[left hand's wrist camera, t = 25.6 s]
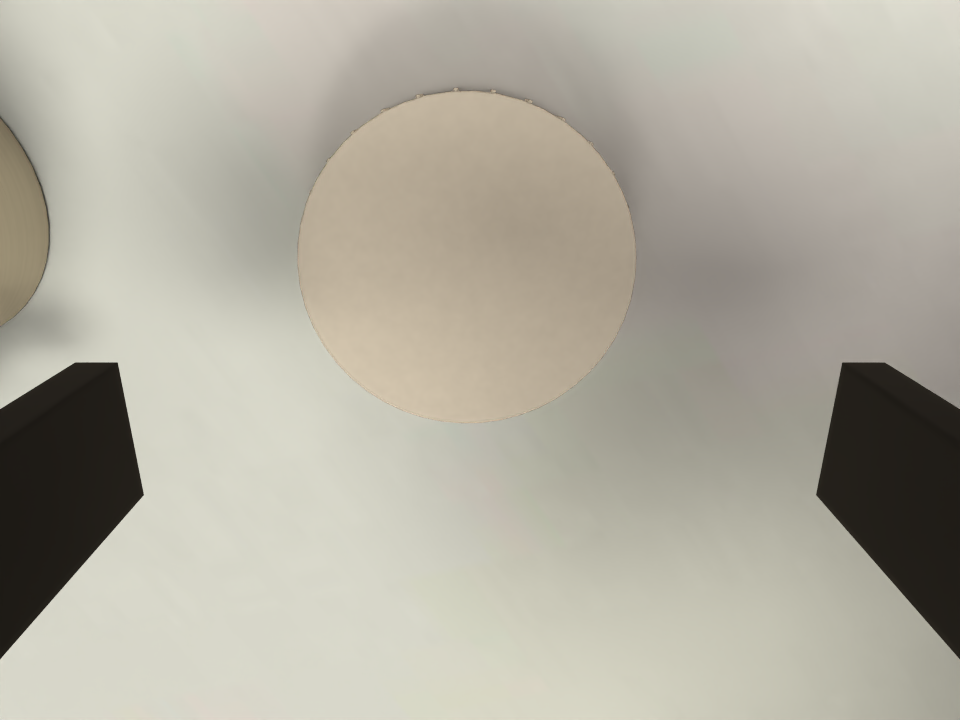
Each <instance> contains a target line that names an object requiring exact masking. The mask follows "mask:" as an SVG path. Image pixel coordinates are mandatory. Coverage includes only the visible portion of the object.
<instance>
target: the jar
mask: <svg viewBox="0 0 960 720" xmlns="http://www.w3.org/2000/svg"><path fill="white" fill-rule="evenodd" d="M48 246H49V225H48V218H47V211H46V205H45V202H44V198H43V194H42V191H41V187H40V185H39V182H38V180H37V177H36V175H35V172H34V170H33V167H32V165H31V163H30V162H29V160H28V158H27V156H26V154H25V152H24V150H23V149H22V147H21V146H20V144H19V143H18V141H17V140H16V138H15V137H14V135H13V134H12V132H11V131H10V129H9V128H8V127H7V126H6V125H5V123H4V122H3V121H2V120H1V119H0V326H2V325H3V324H4V323H6V322H7V321H9V320H10V319H11V318H13V317H14V316H15V315H16V314H17V313H18V312H19V311H20V310H21V309H22V308H23V307H24V306H25V305H26V304H27V302H28V301H29V299H30V298H31V297H32V295H33V294H34V292H35V290H36V288H37V286H38V284H39V282H40V280H41V278H42V274H43V271H44V268H45V264H46V260H47V253H48Z"/></svg>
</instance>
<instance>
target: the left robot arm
mask: <svg viewBox="0 0 960 720" xmlns="http://www.w3.org/2000/svg"><path fill="white" fill-rule="evenodd" d="M143 495H144V494H143V488H142V483H141V478H140V473H139V468H138V463H137V458H136V453H135V448H134V443H133V438H132V433H131V428H130V423H129V418H128V413H127V408H126V403H125V398H124V393H123V388H122V382H121V377H120V372H119V367H118V363H74V364H72V365H71V366H69V367H67V368H66V369H64V370H63V371H61V372H59V373H58V374H56V375H55V376H53V377H51V378H50V379H48V380H47V381H45V382H43V383H42V384H40V385H38V386H37V387H35V388H34V389H32V390H30V391H29V392H27V393H26V394H24V395H22V396H21V397H19V398H18V399H16V400H14V401H13V402H11V403H10V404H8V405H6V406H5V407H3V408H2V409H0V659H1V658H2V656H3V655H4V654H5V653H6V652H7V651H8V650H9V648H10V647H11V646H12V645H13V644H14V643H15V642H16V640H17V639H18V638H19V637H20V636H21V635H22V634H23V632H24V631H25V630H26V629H27V628H28V627H29V626H30V624H31V623H32V622H33V621H34V620H35V619H36V618H37V616H38V615H39V614H40V613H41V612H42V611H43V610H44V608H45V607H46V606H47V605H48V604H49V603H50V602H51V600H52V599H53V598H54V597H55V596H56V595H57V594H58V592H59V591H60V590H61V589H62V588H63V587H64V586H65V584H66V583H67V582H68V581H69V580H70V579H71V578H72V576H73V575H74V574H75V573H76V572H77V571H78V570H79V568H80V567H81V566H82V565H83V564H84V563H85V562H86V560H87V559H88V558H89V557H90V556H91V555H92V554H93V552H94V551H95V550H96V549H97V548H98V547H99V546H100V544H101V543H102V542H103V541H104V540H105V539H106V538H107V536H108V535H109V534H110V533H111V532H112V531H113V530H114V528H115V527H116V526H117V525H118V524H119V523H120V522H121V520H122V519H123V518H124V517H125V516H126V515H127V514H128V512H129V511H130V510H131V509H132V508H133V507H134V506H135V504H136V503H137V502H138V501H139V500H140V499H141V498H142V496H143ZM816 495H817V496H818V498H819V499H820V500H821V501H822V502H823V503H824V504H825V506H826V507H827V508H828V509H829V510H830V511H831V512H832V514H833V515H834V516H835V517H836V518H837V519H838V520H839V522H840V523H841V524H842V525H843V526H844V527H845V528H846V530H847V531H848V532H849V533H850V534H851V535H852V536H853V538H854V539H855V540H856V541H857V542H858V543H859V544H860V546H861V547H862V548H863V549H864V550H865V551H866V552H867V554H868V555H869V556H870V557H871V558H872V559H873V560H874V562H875V563H876V564H877V565H878V566H879V567H880V568H881V570H882V571H883V572H884V573H885V574H886V575H887V576H888V578H889V579H890V580H891V581H892V582H893V583H894V584H895V586H896V587H897V588H898V589H899V590H900V591H901V592H902V594H903V595H904V596H905V597H906V598H907V599H908V600H909V602H910V603H911V604H912V605H913V606H914V607H915V608H916V610H917V611H918V612H919V613H920V614H921V615H922V616H923V618H924V619H925V620H926V621H927V622H928V623H929V624H930V626H931V627H932V628H933V629H934V630H935V631H936V632H937V634H938V635H939V636H940V637H941V638H942V639H943V640H944V642H945V643H946V644H947V645H948V646H949V647H950V648H951V650H952V651H953V652H954V653H955V654H956V655H957V656H958V658H959V659H960V409H958V408H957V407H955V406H954V405H952V404H950V403H949V402H947V401H946V400H944V399H942V398H941V397H939V396H938V395H936V394H934V393H933V392H931V391H930V390H928V389H926V388H925V387H923V386H922V385H920V384H918V383H917V382H915V381H913V380H912V379H910V378H909V377H907V376H905V375H904V374H902V373H901V372H899V371H897V370H896V369H894V368H893V367H891V366H889V365H888V364H886V363H842V367H841V372H840V377H839V382H838V388H837V393H836V398H835V403H834V408H833V413H832V418H831V423H830V428H829V433H828V438H827V443H826V448H825V453H824V458H823V463H822V468H821V473H820V478H819V483H818V488H817V494H816Z"/></svg>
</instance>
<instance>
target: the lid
mask: <svg viewBox="0 0 960 720" xmlns="http://www.w3.org/2000/svg"><path fill="white" fill-rule="evenodd" d="M495 92H496V90H490V93H489V92H481V91H458V88H454V91H450V92H444V93H438V94H431V95H426V96H423V94H418V95H416V99H413V100H410V101H407V102H403V103H401V104H399V105H397V106H395V107H393V108H386V109H383V110H381V112H382V113H381V114H379V115H378V116H376V117H375V118H373V119H372V120H370V121H369V122H367V123H366V124H364V125H363V126H361V127H360V128H359V129H357V130H354V131H352V132H351V136H350V137H349V138H348V139H347V140H345V141H344V142H343V144H342V145H341V146H340V147H339V148H338V149H337V151H336V152H335V153H334V154H333V155H332V157H330V158H328V159H327V161H326V162H327V163H326V165H325V167H324V168H323V170H322V171H321V173H320V175H319V176H318V178H317V179H316V182H315V184H314V186H313V188H312V190H311V191H310V193H309V194H310V195H309V197H308V199H307V203H306V206H305V210H304V213H303V216H302V220H301V225H300V232H299V239H298V273H299V281H300V288H301V292H302V296H303V300H304V303H305V307H306V310H307V312H308V315H309V317H310V320H311V322H312V325H313V327H314V329H315V331H316V333H317V334H318V336H319V338H320V340H321V341H322V343H323V345H324V346H325V348H326V349H327V351H328V352H329V353H330V355H331V356H332V357H333V359H334V360H335V361H336V363H337V364H338V365H339V366H340V367H341V368H342V369H343V370H344V371H345V372H346V373H347V374H348V375H349V376H350V377H351V378H352V379H353V380H354V381H356V382H357V383H358V384H359V385H360V386H362V387H363V388H364V389H365V390H366V391H368V392H370V393H371V394H373V395H374V396H376V397H377V398H379V399H381V400H382V401H384V402H386V403H388V404H390V405H392V406H394V407H396V408H398V409H400V410H403V411H405V412H408V413H411V414H414V415H417V416H420V417H424V418H429V419H433V420H438V421H444V422H455V423H483V422H490V421H497V420H503V419H507V418H510V417H514V416H518V415H522V414H524V413H527V412H529V411H532V410H534V409H537V408H539V407H541V406H543V405H545V404H547V403H549V402H551V401H552V400H554V399H556V398H558V397H559V396H561V395H562V394H564V393H565V392H566V391H568V390H569V389H571V388H572V387H574V386H575V385H576V384H577V383H578V382H579V381H580V380H581V379H582V378H584V377H585V376H586V375H587V374H588V373H589V372H590V371H591V370H592V369H593V368H594V366H595V365H596V364H597V363H598V362H599V361H600V359H601V358H602V357H603V356H604V354H605V353H606V351H607V350H608V348H609V347H610V345H611V344H612V342H613V341H614V339H615V337H616V335H617V333H618V331H619V329H620V327H621V325H622V323H623V321H624V318H625V315H626V312H627V310H628V307H629V304H630V301H631V296H632V291H633V286H634V281H635V270H636V245H635V234H634V229H633V224H632V219H631V214H630V211H629V209H628V208H629V206H628V205H627V203H626V200H625V197H624V194H623V192H622V190H621V188H620V186H619V184H618V182H617V180H616V178H615V176H614V175H615V174H614V172H613V171H611V170H610V168H609V167H608V165H607V164H606V163H605V161H604V160H603V158H602V157H601V155H600V154H599V153H598V152H597V151H596V150H595V149H594V148H593V145H594V144H593V143H592V142H590V141H588V140H586V139H585V138H584V137H583V136H582V135H581V134H579V133H578V132H577V131H576V130H574V129H573V128H572V127H571V126H570V125H568V124H567V123H566V122H565V120H566V119H564V118H563V117H559V116H554V115H553V114H551V113H549V112H548V111H546V110H544V109H542V108H540V107H537V106H535V105H533V104H532V102H533V101H531V100H528V99H525V101H523V100H520V99H516V98H513V97H509V96H505V95H501V94H497V93H495Z"/></svg>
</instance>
